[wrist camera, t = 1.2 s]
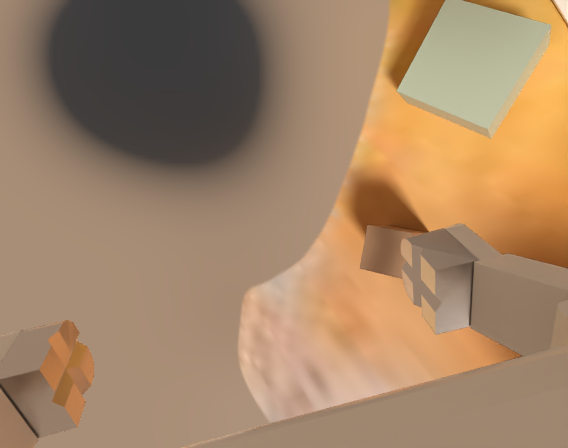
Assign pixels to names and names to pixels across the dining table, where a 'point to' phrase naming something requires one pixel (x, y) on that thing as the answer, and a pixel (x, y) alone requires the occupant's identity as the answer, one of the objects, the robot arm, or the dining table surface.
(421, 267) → the robot arm
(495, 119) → the base block
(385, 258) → the walnut block
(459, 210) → the dining table surface
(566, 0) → the card
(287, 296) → the dining table surface
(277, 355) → the dining table surface
